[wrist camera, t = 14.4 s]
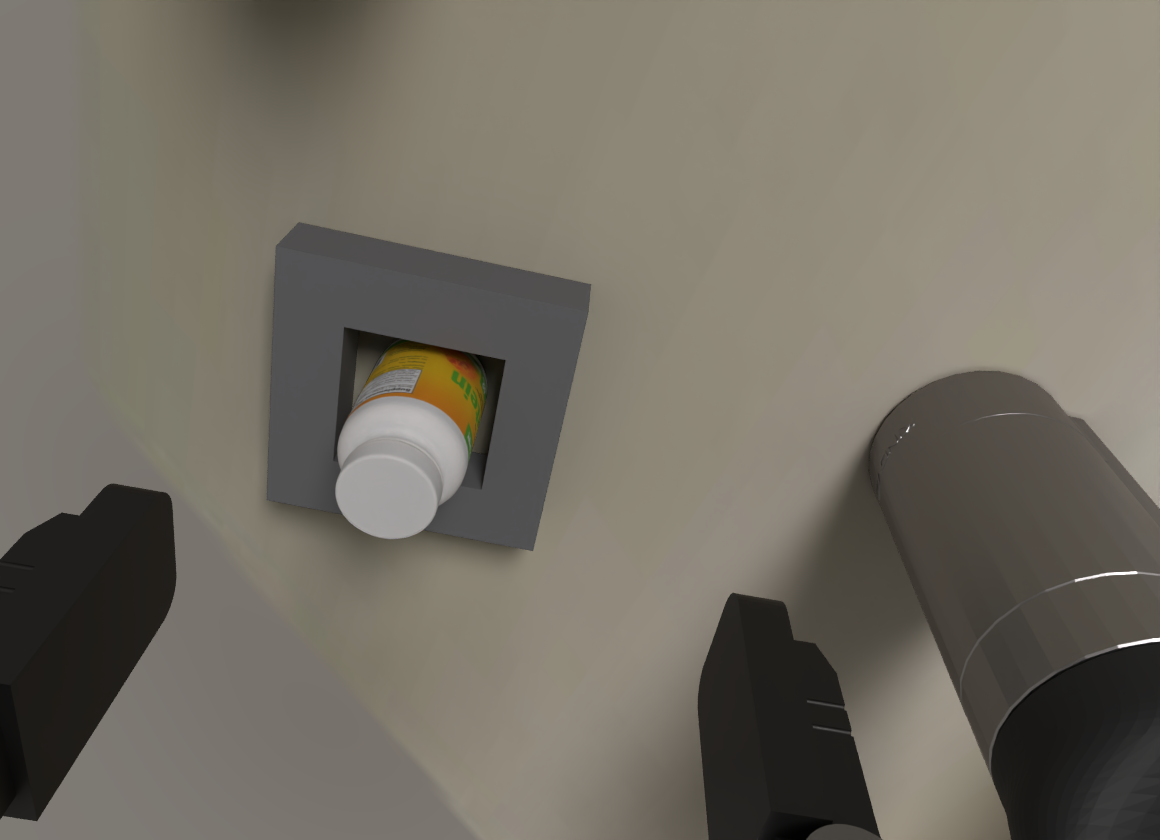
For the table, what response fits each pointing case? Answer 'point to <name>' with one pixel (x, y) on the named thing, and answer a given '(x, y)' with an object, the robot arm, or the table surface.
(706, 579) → the table surface
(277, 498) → the socket holder
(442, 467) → the supplement bottle
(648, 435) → the table surface
